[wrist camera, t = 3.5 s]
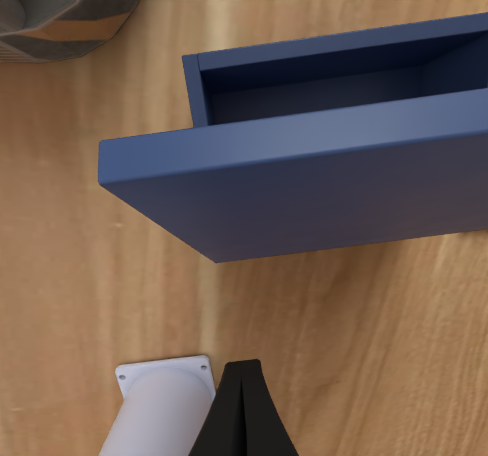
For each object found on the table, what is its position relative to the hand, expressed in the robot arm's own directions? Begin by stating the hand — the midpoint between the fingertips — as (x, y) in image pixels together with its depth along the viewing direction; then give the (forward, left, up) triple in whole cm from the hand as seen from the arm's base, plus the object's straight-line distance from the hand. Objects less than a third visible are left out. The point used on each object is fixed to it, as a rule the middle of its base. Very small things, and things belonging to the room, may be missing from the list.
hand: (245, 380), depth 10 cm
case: (+9, -6, -10) cm, 14 cm away
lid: (+7, -6, 0) cm, 9 cm away
